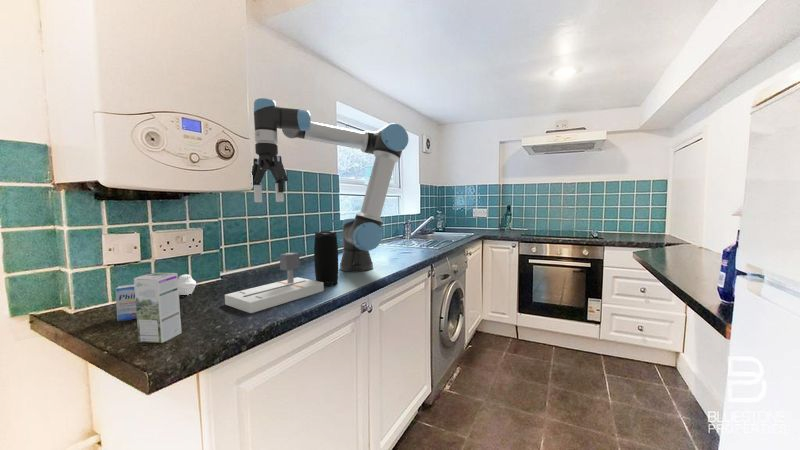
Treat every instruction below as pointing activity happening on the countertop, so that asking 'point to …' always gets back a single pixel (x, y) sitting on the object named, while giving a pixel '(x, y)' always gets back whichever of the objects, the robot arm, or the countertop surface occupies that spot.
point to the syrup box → (157, 307)
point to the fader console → (272, 294)
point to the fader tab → (289, 264)
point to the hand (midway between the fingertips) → (268, 202)
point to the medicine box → (125, 302)
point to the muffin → (186, 284)
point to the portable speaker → (326, 257)
